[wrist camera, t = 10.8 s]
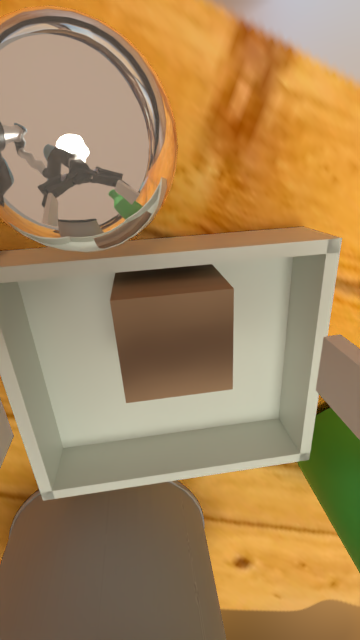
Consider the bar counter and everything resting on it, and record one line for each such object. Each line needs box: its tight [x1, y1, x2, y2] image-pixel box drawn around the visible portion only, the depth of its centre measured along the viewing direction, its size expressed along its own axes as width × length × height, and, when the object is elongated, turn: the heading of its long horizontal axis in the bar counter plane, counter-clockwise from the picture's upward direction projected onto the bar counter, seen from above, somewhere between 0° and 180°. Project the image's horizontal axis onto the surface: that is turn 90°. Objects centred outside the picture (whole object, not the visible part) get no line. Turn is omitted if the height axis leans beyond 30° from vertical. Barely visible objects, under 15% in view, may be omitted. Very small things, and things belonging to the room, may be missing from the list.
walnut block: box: [110, 264, 234, 403], centre depth 19 cm, size 6×6×6 cm
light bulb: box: [0, 5, 178, 252], centre depth 13 cm, size 7×7×12 cm
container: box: [0, 480, 226, 640], centre depth 25 cm, size 19×19×15 cm
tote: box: [0, 227, 342, 501], centre depth 22 cm, size 20×17×4 cm
